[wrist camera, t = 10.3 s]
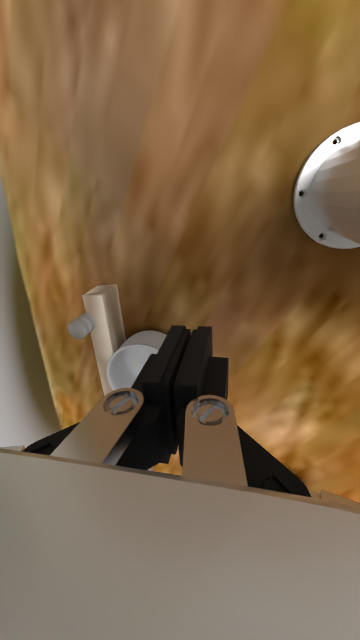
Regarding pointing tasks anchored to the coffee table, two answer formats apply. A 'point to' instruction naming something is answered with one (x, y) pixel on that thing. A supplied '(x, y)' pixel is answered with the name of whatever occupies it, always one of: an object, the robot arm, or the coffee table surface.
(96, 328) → the bar
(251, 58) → the coffee table surface
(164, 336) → the teacup
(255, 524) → the robot arm
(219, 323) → the coffee table surface
